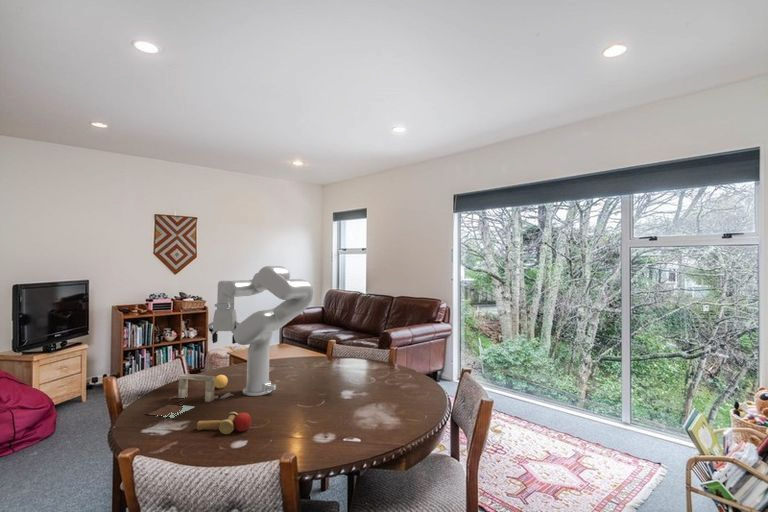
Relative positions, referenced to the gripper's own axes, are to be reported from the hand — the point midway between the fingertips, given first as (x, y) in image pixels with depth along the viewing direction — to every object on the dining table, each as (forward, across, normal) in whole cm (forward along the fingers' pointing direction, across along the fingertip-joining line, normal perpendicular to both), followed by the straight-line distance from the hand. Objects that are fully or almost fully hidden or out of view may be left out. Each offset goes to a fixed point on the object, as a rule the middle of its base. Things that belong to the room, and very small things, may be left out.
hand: (224, 342), depth 185 cm
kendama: (+20, +26, -49) cm, 59 cm away
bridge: (+20, -1, -21) cm, 29 cm away
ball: (+17, +1, -5) cm, 17 cm away
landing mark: (+20, -3, -35) cm, 40 cm away
